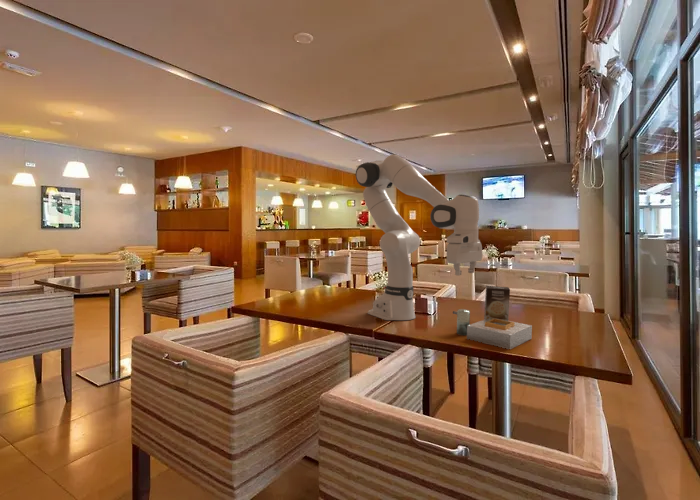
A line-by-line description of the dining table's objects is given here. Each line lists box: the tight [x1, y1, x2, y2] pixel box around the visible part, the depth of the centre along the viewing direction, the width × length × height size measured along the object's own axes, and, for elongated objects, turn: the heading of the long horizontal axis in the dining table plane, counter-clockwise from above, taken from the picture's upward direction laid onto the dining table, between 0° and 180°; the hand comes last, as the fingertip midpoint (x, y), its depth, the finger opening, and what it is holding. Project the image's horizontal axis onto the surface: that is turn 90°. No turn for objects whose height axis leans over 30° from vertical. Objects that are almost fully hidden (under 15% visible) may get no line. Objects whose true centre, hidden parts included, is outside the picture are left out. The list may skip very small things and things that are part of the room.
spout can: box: [452, 308, 471, 336], centre depth 148 cm, size 7×5×9 cm
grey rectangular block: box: [466, 317, 533, 350], centre depth 141 cm, size 16×18×6 cm
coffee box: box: [483, 285, 511, 321], centre depth 159 cm, size 9×6×16 cm
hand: (464, 274), depth 146 cm, fingers open, 8 cm apart
